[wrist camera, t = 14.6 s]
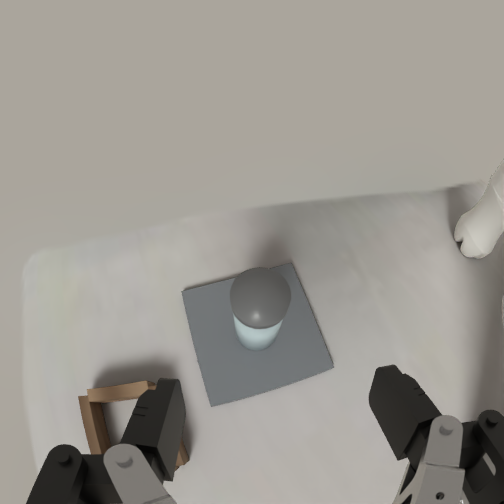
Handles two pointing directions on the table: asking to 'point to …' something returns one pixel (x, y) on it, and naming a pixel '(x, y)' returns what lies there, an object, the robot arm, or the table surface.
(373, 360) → the table surface
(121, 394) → the walnut collar
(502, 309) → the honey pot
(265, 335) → the grey-capped cylinder canister
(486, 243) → the water bottle
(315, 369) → the slate pad
